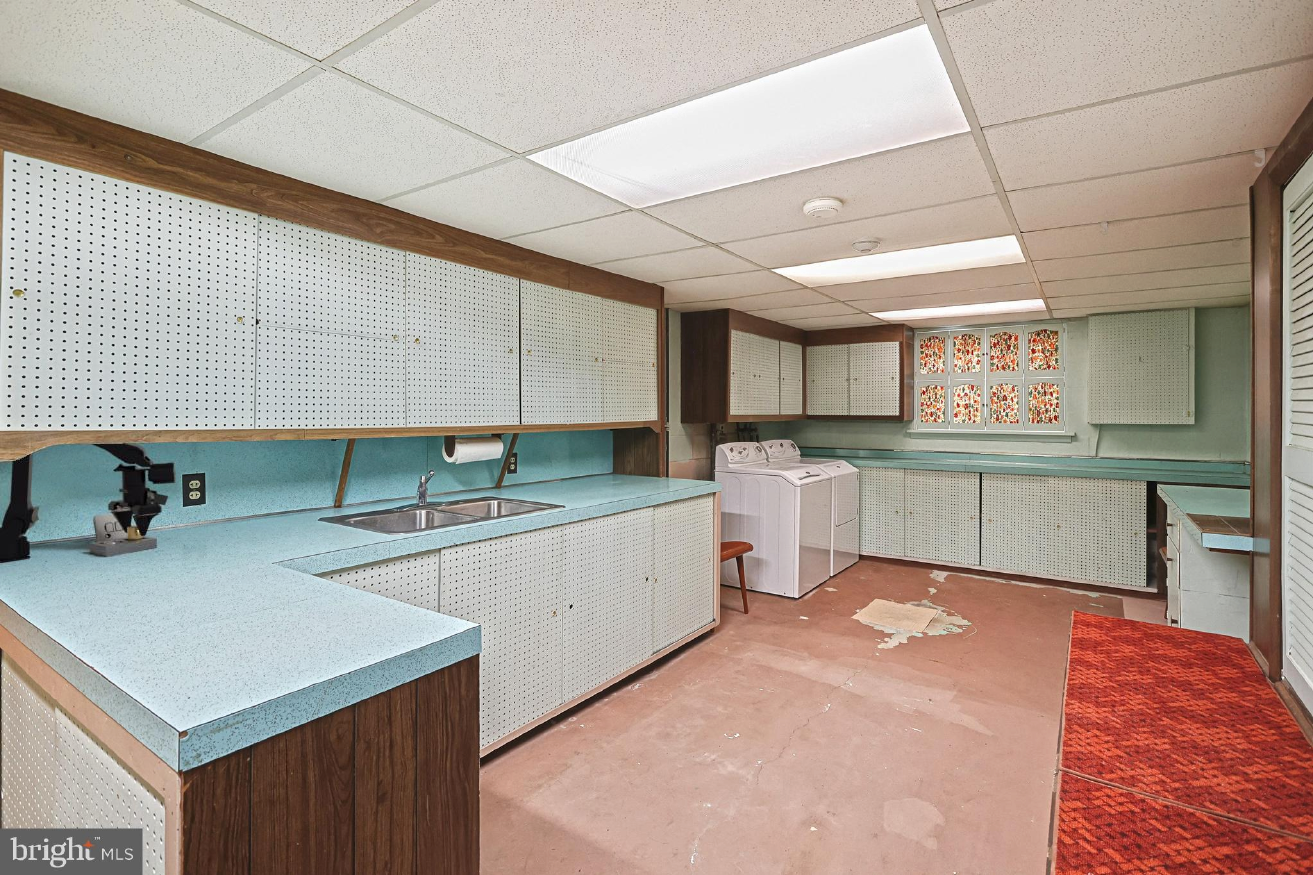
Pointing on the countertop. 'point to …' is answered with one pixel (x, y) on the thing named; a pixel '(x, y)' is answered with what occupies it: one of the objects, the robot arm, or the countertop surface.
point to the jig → (122, 546)
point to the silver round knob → (111, 542)
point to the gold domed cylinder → (133, 533)
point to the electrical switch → (107, 527)
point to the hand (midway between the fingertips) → (135, 534)
